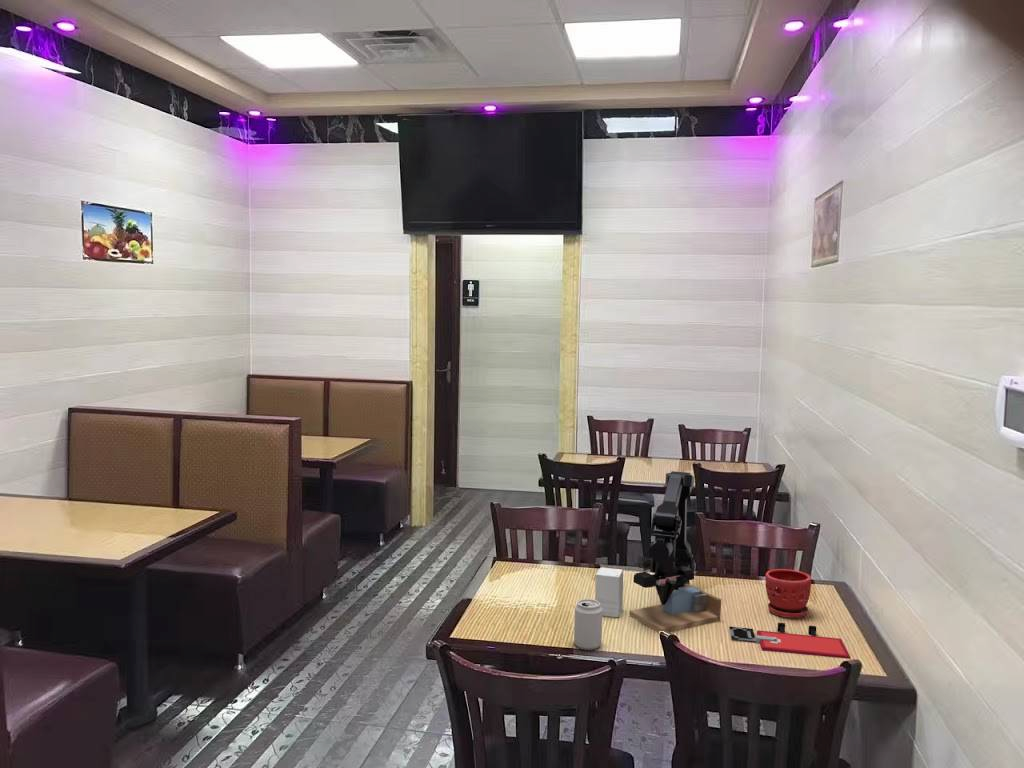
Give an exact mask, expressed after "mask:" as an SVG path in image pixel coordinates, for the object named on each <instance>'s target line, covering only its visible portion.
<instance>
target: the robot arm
mask: <svg viewBox="0 0 1024 768" xmlns="http://www.w3.org/2000/svg"><path fill="white" fill-rule="evenodd" d="M664 485H665V486H666V488H665V493H664V497H663V502H662V503H661V504H659V505H658V506H657V507H656V509H655V513H653V515H652V519H651V525H650V532H649V536H650V537H654V541H653V543H652V545H651V546H649V549H648V554H649V557H650V558H648V559H647V557H646V556H642V557H641V556H640V557H638V558H637V566H638V568H639V569H643V571H641V572H636V573H634V575H633V583H634V584H637V585H638V586H640V587H641V588H643V589H644V588H645V589H647V588H653V587H654V588H655V589H656V591H657V596H658V599H659V601H660V605H661V604H662V605H665V604H666V602H667V601H668V599H669V597H670V595H671V594H672V592H673V591H674V590H678V588H680V587H684V584H689V585H690V581H692V580H695V566H696V563H695V558H694V554H693V553H692V547H691V544H690V543H689V542H688V541H687V514H688V513H687V512H688V511H687V510H688V509H687V508H688V505H687V503H688V497H689V496H690V494H691V492H692V489H693V488H694V486H695V476H694V475H692V473H691V472H685V471H674V470H671V471H670V472H669V473H666V474H665V484H664ZM647 571H649V572H650V573H649V572H647ZM651 573H653V574H651Z"/></svg>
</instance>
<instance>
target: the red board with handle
mask: <svg viewBox="0 0 1024 768" xmlns="http://www.w3.org/2000/svg"><path fill="white" fill-rule="evenodd" d="M728 627H729V632H730V638H731V639H732V640H739V641H740V640H741V641H751V642H755V643H756V644H759V647H760V650H761V651H765V652H773V653H774V652H775V653H784V654H796V655H804V656H805V655H807V656H818V657H827V658H828V657H829V658H836V659H837V658H840V659H849V660H850V659H851V655H850V653H849V650H848V649H847V647H846V645H845V643H844V641H843V639H842V638H837V637H828V636H817V626H816V625H808V631H807V633H808V635H807V634H797V633H789V632H786V623H785V622H779V621H778V622H777V631H769V630H758V629H757V630H756V635H755V632H754V629H753V628H749V627H741V626H738V627H737V626H731V625H730V626H728Z"/></svg>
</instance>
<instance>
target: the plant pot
mask: <svg viewBox="0 0 1024 768" xmlns="http://www.w3.org/2000/svg"><path fill="white" fill-rule="evenodd" d="M789 579H791V580H789ZM811 588H812V578H811V575H810V574H808V573H807V572H806V573H805V572H802V571H800V570H795V569H787V568H786V569H785V568H777V569H771V570H768V571H767V572H766V573H765V592H766V596H767V598H768V601H769V603H768V604H767V607H768V610H769V611H770V612H771V613H773V614H774V615H776V616H778V617H779V616H780V617H783V618H788V619H798V618H802V617H805V616H806V615H807V614H808V613H809V607H808V606H807V605H808V602H809V600H810V596H811Z"/></svg>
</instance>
